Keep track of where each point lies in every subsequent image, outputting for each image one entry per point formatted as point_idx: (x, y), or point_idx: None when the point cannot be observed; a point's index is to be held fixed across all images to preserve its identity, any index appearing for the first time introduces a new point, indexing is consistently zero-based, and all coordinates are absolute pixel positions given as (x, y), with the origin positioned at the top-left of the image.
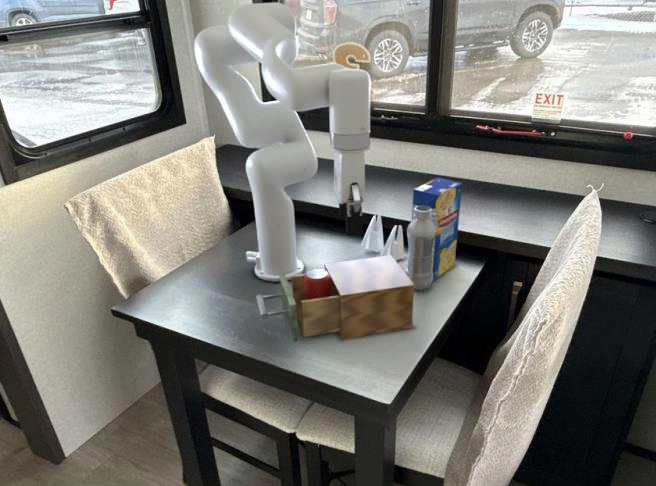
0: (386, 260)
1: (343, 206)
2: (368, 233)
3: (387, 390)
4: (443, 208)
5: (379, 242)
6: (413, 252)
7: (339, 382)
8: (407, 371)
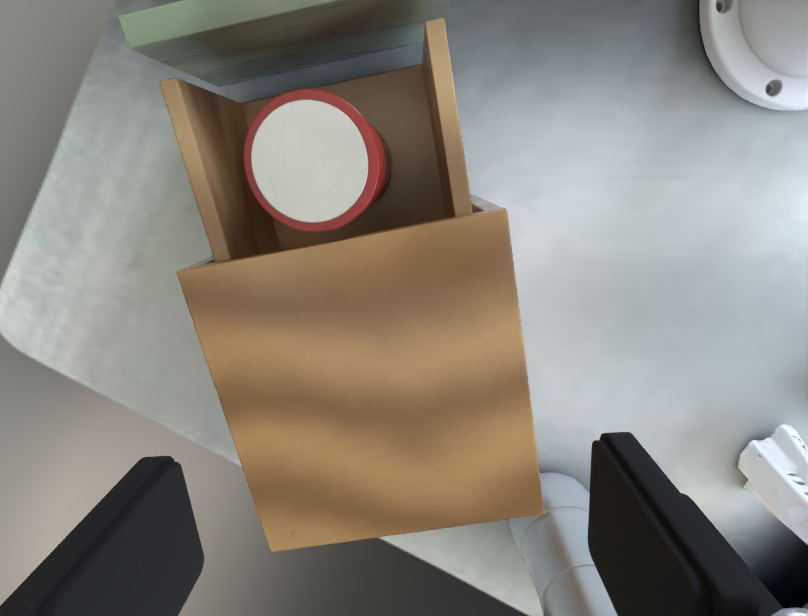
0: (492, 490)
1: (637, 544)
2: None
3: (30, 338)
4: None
5: None
6: (564, 589)
7: (44, 216)
8: (113, 396)
